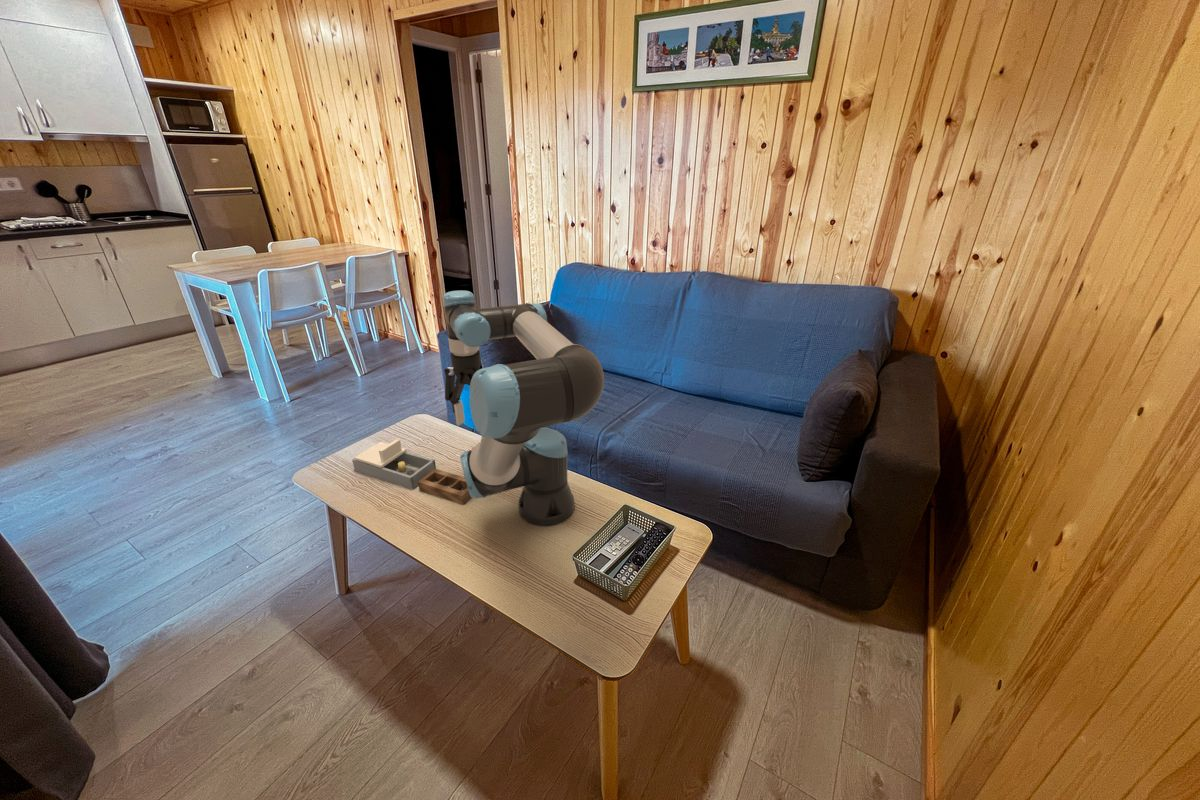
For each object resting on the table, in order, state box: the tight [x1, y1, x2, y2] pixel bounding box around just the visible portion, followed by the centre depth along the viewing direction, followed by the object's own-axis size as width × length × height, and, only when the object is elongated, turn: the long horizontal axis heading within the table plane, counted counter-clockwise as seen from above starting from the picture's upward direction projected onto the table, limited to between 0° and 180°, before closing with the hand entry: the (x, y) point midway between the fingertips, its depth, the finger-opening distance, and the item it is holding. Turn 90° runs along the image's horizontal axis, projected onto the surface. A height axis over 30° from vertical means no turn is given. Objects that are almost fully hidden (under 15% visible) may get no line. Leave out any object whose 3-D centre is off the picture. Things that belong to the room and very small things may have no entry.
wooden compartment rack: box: [417, 468, 472, 505], centre depth 132 cm, size 15×7×3 cm, turn 67°
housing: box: [351, 451, 437, 490], centre depth 140 cm, size 22×10×4 cm, turn 67°
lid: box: [353, 438, 408, 468], centre depth 139 cm, size 10×10×5 cm
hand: (473, 426), depth 131 cm, fingers open, 8 cm apart
